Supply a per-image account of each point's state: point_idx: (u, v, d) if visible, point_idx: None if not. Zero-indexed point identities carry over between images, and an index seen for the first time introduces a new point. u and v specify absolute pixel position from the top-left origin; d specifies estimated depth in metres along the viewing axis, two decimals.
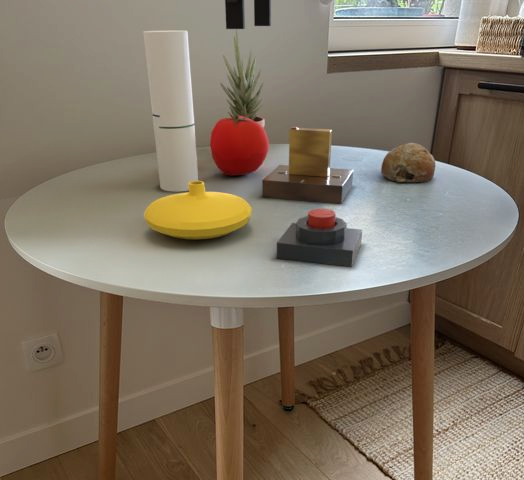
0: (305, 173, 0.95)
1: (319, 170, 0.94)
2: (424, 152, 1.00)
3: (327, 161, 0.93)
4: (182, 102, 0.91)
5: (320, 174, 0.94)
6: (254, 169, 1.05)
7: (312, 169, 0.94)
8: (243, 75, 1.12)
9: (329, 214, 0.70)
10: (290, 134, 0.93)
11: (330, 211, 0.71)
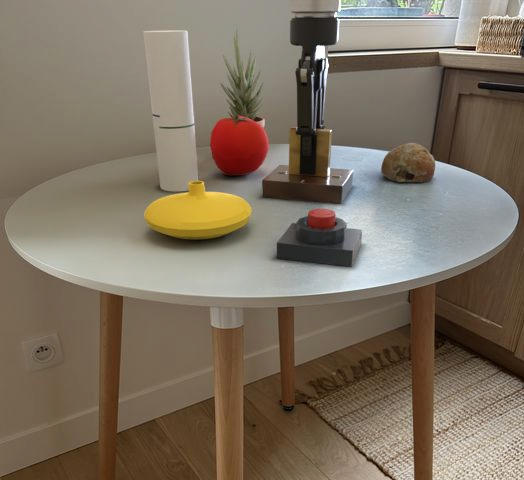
0: None
1: (319, 170, 0.94)
2: (424, 152, 1.00)
3: (327, 161, 0.93)
4: (182, 102, 0.91)
5: (320, 174, 0.94)
6: (254, 169, 1.05)
7: None
8: (243, 75, 1.12)
9: (329, 214, 0.70)
10: (290, 134, 0.93)
11: (330, 211, 0.71)
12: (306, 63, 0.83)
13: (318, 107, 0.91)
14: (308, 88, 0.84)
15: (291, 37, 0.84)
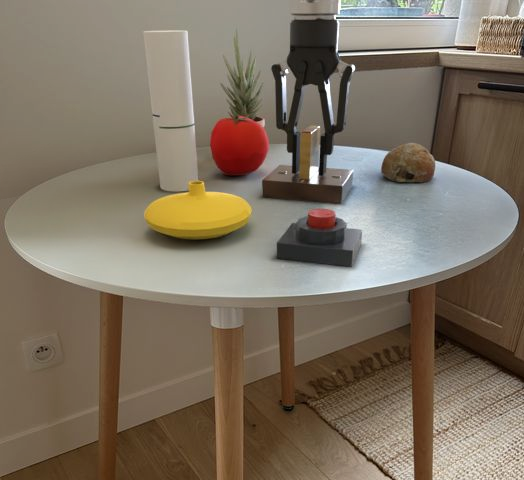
0: (313, 173, 0.95)
1: (316, 166, 0.97)
2: (424, 152, 1.00)
3: (318, 155, 0.97)
4: (182, 102, 0.91)
5: (316, 169, 0.97)
6: (254, 169, 1.05)
7: (315, 167, 0.96)
8: (243, 75, 1.12)
9: (329, 214, 0.70)
10: (311, 138, 0.89)
11: (330, 211, 0.71)
12: (341, 61, 0.85)
13: (300, 108, 0.92)
14: (349, 84, 0.87)
15: (322, 40, 0.82)
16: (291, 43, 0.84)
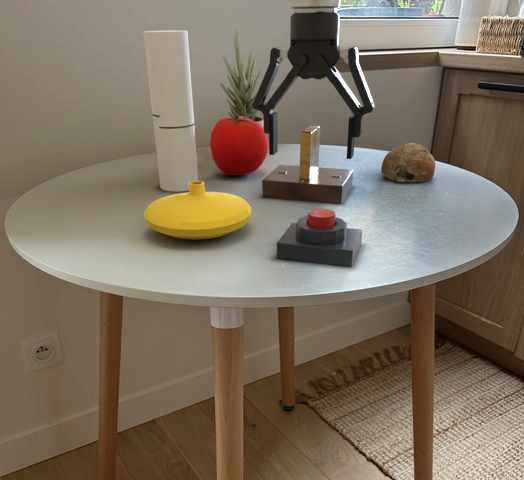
0: (313, 173, 0.95)
1: (316, 166, 0.97)
2: (424, 152, 1.00)
3: (318, 155, 0.97)
4: (182, 102, 0.91)
5: (316, 169, 0.97)
6: (254, 169, 1.05)
7: (315, 167, 0.96)
8: (243, 75, 1.12)
9: (329, 214, 0.70)
10: (311, 138, 0.89)
11: (330, 211, 0.71)
12: (342, 49, 0.84)
13: None
14: (359, 65, 0.85)
15: (323, 33, 0.81)
16: (291, 37, 0.84)
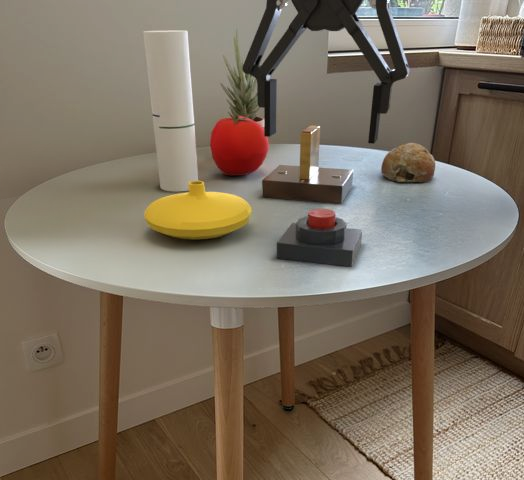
0: (313, 173, 0.95)
1: (316, 166, 0.97)
2: (424, 152, 1.00)
3: (318, 155, 0.97)
4: (182, 102, 0.91)
5: (316, 169, 0.97)
6: (254, 169, 1.05)
7: (315, 167, 0.96)
8: (243, 75, 1.12)
9: (329, 214, 0.70)
10: (311, 138, 0.89)
11: (330, 211, 0.71)
12: None
13: (285, 54, 0.67)
14: (390, 12, 0.61)
15: None
16: None
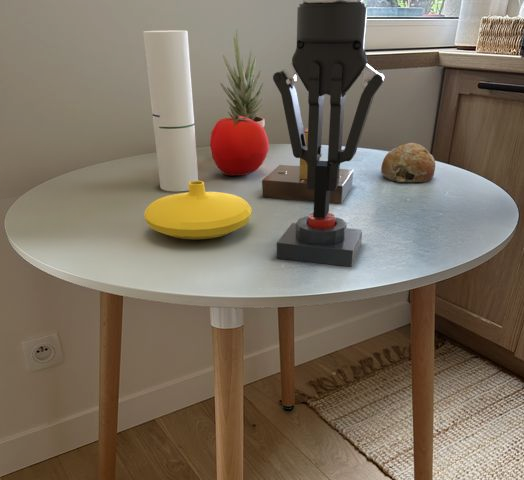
0: None
1: None
2: (424, 152, 1.00)
3: None
4: (182, 102, 0.91)
5: None
6: (254, 169, 1.05)
7: None
8: (243, 75, 1.12)
9: (329, 217, 0.71)
10: None
11: (330, 214, 0.72)
12: (369, 66, 0.61)
13: (321, 128, 0.66)
14: (372, 99, 0.63)
15: (344, 32, 0.57)
16: (299, 37, 0.59)
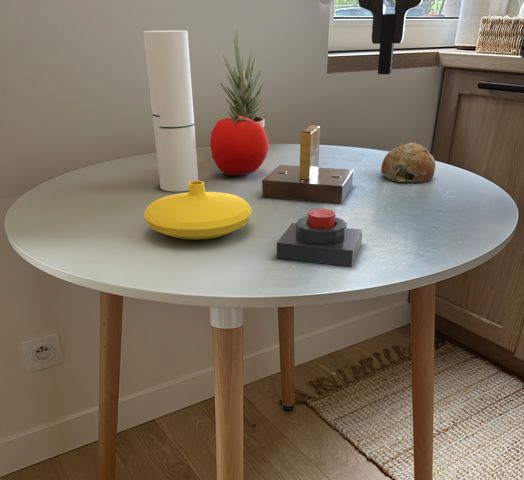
0: (313, 173, 0.95)
1: (316, 166, 0.97)
2: (424, 152, 1.00)
3: (318, 155, 0.97)
4: (182, 102, 0.91)
5: (316, 169, 0.97)
6: (254, 169, 1.05)
7: (315, 167, 0.96)
8: (243, 75, 1.12)
9: (329, 214, 0.70)
10: (311, 138, 0.89)
11: (330, 211, 0.71)
12: None
13: None
14: None
15: None
16: None
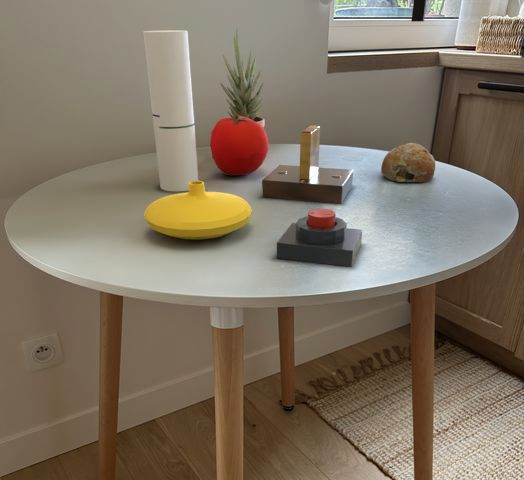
0: (313, 173, 0.95)
1: (316, 166, 0.97)
2: (424, 152, 1.00)
3: (318, 155, 0.97)
4: (182, 102, 0.91)
5: (316, 169, 0.97)
6: (254, 169, 1.05)
7: (315, 167, 0.96)
8: (243, 75, 1.12)
9: (329, 214, 0.70)
10: (311, 138, 0.89)
11: (330, 211, 0.71)
12: None
13: None
14: None
15: None
16: None
